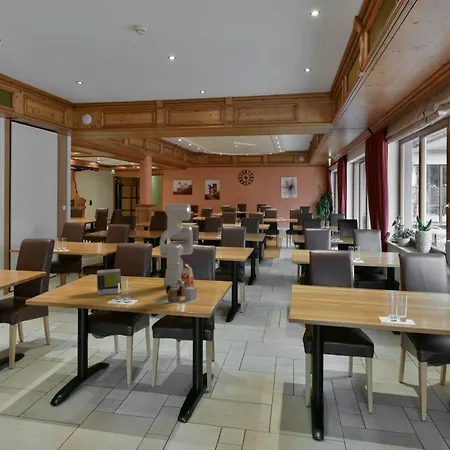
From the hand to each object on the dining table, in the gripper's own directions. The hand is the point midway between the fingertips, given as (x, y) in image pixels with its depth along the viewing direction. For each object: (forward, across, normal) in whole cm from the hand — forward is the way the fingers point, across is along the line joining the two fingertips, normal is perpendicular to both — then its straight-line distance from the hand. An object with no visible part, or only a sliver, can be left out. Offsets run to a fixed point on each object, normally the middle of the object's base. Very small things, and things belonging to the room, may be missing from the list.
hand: (173, 294), depth 239 cm
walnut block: (+4, 0, 0) cm, 4 cm away
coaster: (+4, -9, -3) cm, 11 cm away
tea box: (+4, -50, -12) cm, 52 cm away
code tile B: (+4, +4, +10) cm, 12 cm away
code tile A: (+5, 0, 0) cm, 5 cm away
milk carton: (+4, -10, +20) cm, 23 cm away
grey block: (+4, +4, +10) cm, 12 cm away
